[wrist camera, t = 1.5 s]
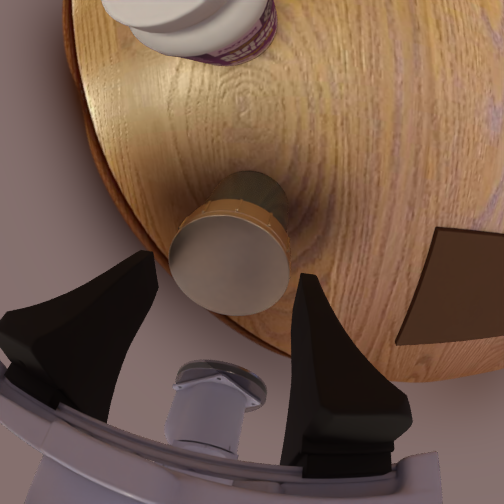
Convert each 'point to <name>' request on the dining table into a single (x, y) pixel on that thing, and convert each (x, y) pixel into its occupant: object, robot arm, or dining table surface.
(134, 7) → the pill bottle
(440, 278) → the mat
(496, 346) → the dining table surface
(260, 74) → the dining table surface
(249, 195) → the jar
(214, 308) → the jar lid
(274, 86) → the dining table surface
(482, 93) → the dining table surface
